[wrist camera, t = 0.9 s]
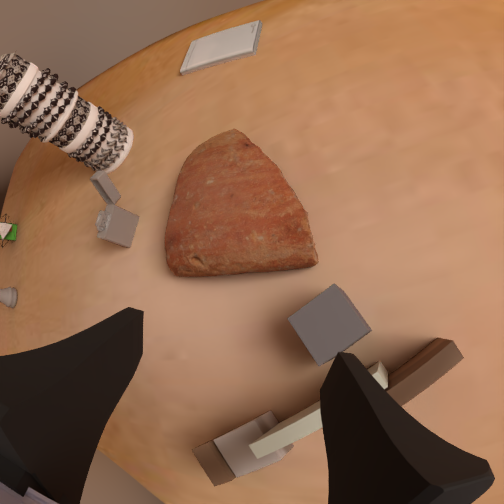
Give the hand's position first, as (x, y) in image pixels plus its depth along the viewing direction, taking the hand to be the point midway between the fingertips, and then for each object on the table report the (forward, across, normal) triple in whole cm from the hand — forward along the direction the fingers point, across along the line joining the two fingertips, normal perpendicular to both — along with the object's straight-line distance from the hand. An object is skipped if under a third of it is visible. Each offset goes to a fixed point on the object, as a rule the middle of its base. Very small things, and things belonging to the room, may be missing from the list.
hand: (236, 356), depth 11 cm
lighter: (+27, +15, +5) cm, 31 cm away
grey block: (+12, -8, +5) cm, 16 cm away
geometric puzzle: (+43, +55, +20) cm, 72 cm away
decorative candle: (+36, +24, -3) cm, 44 cm away
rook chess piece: (+32, +47, +29) cm, 64 cm away
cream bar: (+9, -9, +10) cm, 16 cm away
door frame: (+9, -9, +10) cm, 16 cm away
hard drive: (+39, +10, -21) cm, 45 cm away
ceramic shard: (+22, +1, -1) cm, 22 cm away
